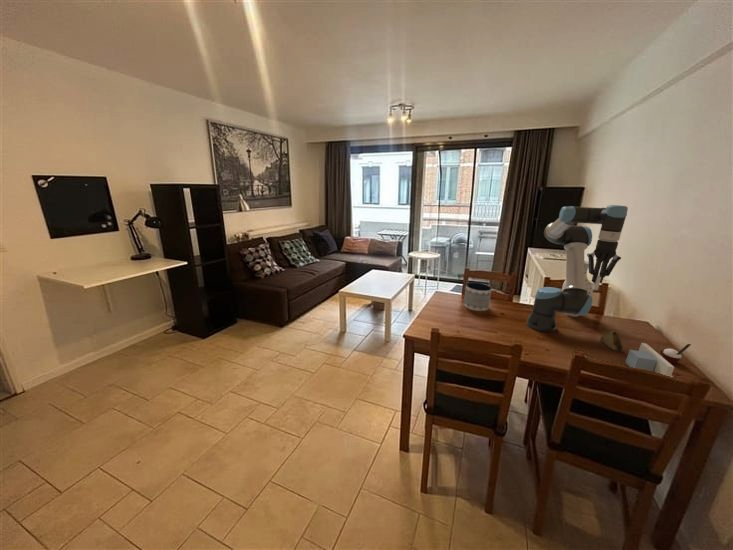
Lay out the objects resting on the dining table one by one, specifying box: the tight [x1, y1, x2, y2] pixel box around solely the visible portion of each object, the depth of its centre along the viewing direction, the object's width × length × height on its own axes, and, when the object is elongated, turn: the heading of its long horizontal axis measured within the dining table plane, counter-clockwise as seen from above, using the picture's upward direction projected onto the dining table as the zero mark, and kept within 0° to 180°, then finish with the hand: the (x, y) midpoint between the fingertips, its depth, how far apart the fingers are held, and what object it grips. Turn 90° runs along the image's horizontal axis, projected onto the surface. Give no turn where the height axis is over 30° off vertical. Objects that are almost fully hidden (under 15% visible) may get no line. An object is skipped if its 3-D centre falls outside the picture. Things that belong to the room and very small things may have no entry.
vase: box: [561, 260, 594, 318], centre depth 189 cm, size 16×16×35 cm
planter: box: [463, 282, 493, 312], centre depth 199 cm, size 16×16×14 cm
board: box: [638, 342, 675, 377], centre depth 136 cm, size 6×20×8 cm, turn 164°
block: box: [625, 349, 657, 371], centre depth 137 cm, size 7×7×7 cm
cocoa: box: [660, 343, 692, 364], centre depth 142 cm, size 10×6×12 cm, turn 165°
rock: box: [600, 329, 624, 353], centre depth 156 cm, size 11×9×10 cm
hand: (594, 289), depth 143 cm, fingers closed
